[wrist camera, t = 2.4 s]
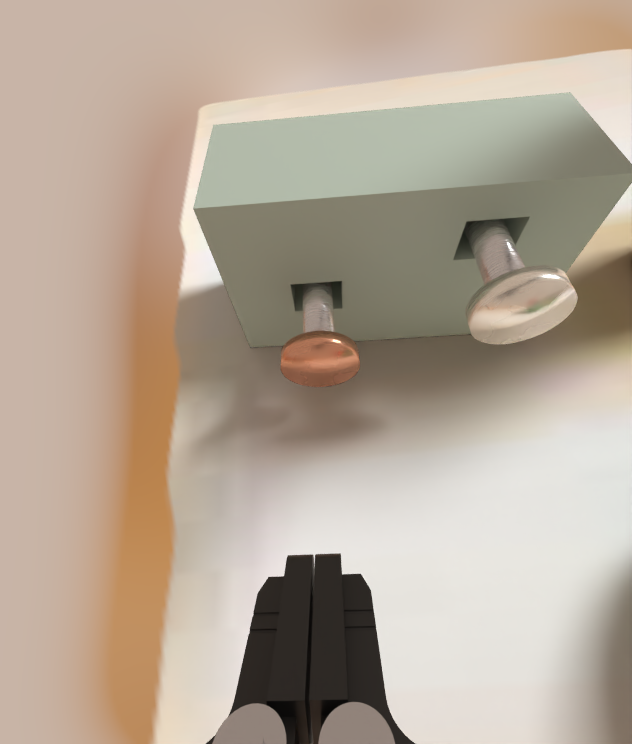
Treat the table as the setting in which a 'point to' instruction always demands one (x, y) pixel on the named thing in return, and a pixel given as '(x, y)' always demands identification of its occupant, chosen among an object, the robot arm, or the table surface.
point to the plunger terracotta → (319, 344)
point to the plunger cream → (513, 289)
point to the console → (398, 208)
